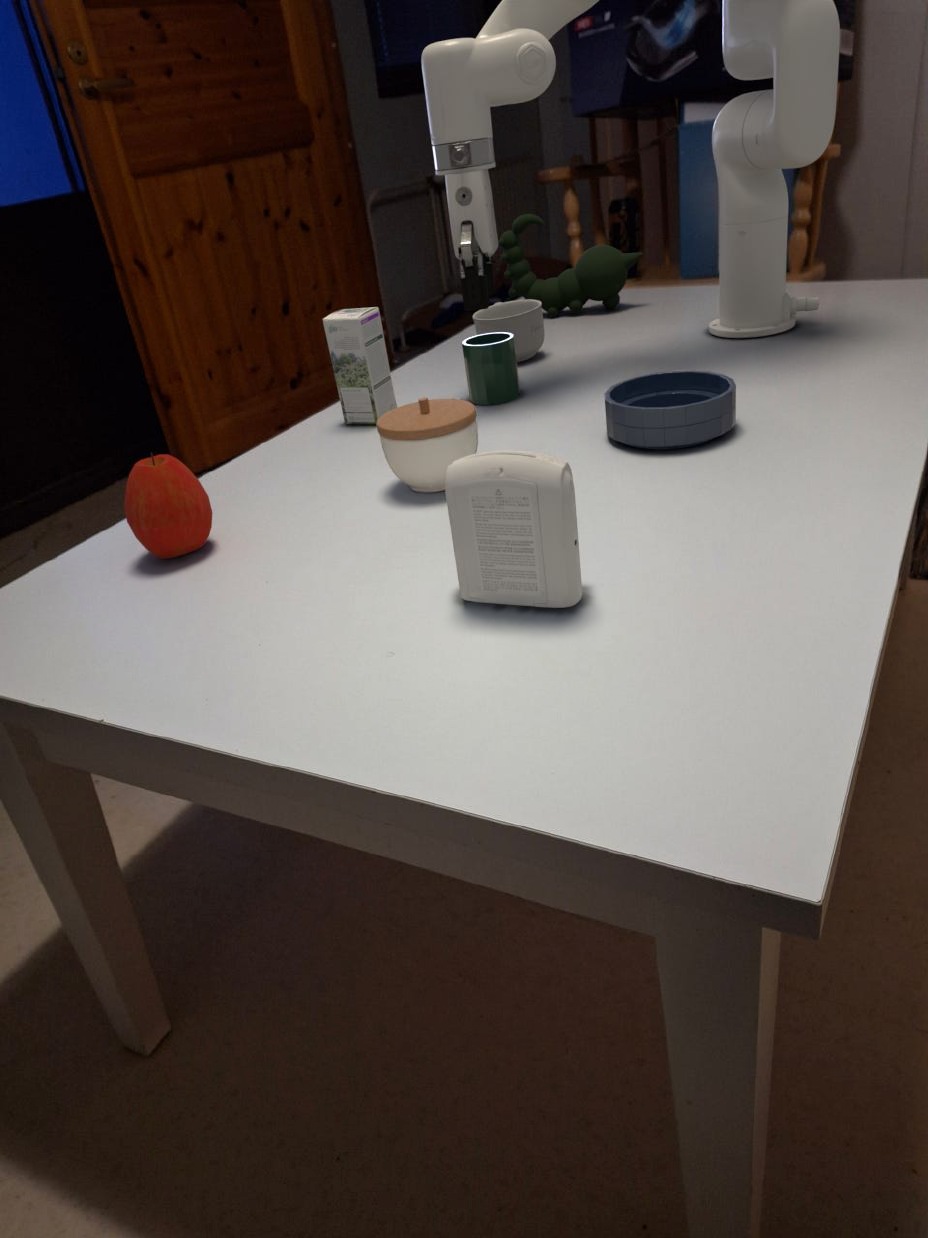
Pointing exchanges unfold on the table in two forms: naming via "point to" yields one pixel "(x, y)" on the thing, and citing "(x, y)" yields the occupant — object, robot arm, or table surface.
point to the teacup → (514, 324)
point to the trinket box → (427, 440)
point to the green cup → (491, 368)
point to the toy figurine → (566, 274)
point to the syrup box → (360, 364)
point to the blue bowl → (670, 409)
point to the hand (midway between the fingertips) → (480, 302)
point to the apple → (167, 507)
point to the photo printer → (514, 529)
